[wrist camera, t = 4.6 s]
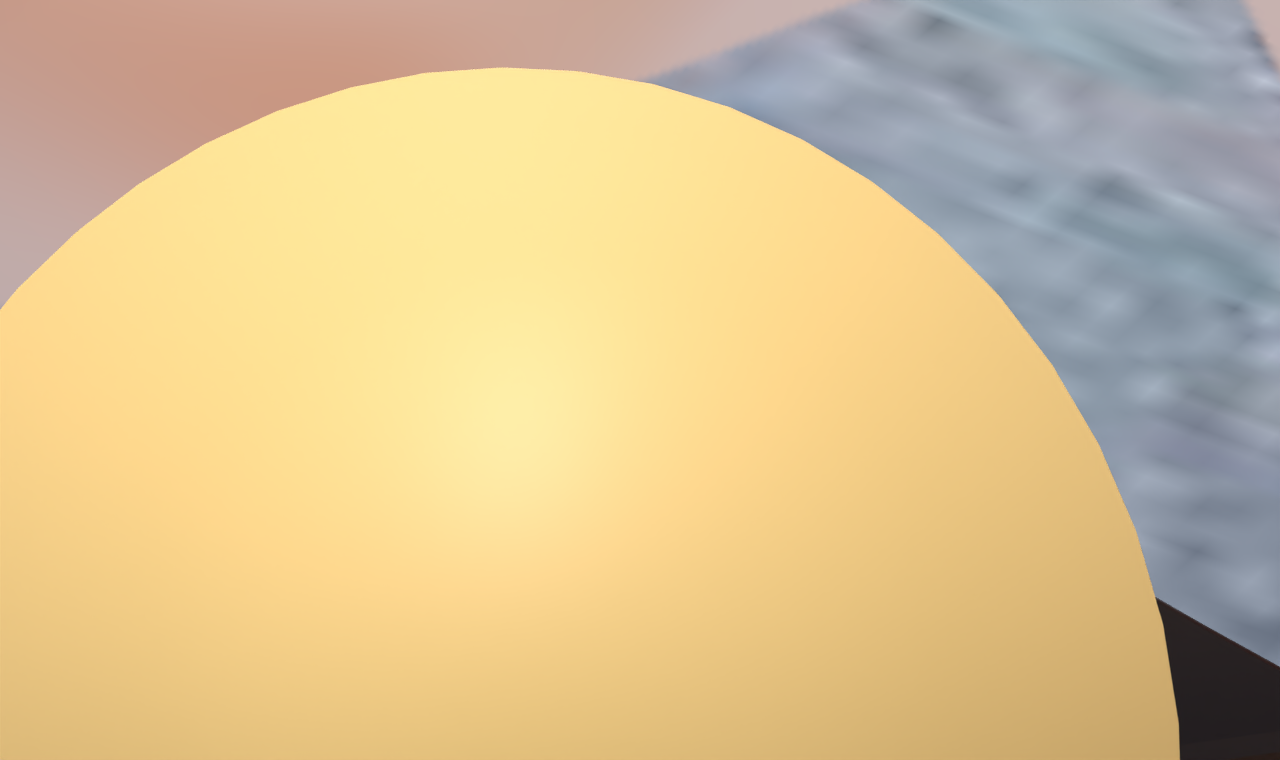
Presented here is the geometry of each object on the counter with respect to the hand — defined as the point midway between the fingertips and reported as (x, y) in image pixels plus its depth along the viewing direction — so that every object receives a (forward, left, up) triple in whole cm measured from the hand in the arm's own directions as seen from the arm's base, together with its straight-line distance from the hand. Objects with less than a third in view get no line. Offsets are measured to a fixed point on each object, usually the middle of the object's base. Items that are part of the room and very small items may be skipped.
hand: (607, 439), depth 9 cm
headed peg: (-1, +1, -7) cm, 7 cm away
